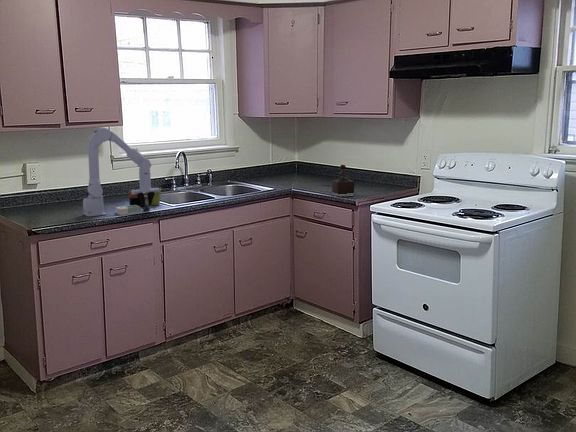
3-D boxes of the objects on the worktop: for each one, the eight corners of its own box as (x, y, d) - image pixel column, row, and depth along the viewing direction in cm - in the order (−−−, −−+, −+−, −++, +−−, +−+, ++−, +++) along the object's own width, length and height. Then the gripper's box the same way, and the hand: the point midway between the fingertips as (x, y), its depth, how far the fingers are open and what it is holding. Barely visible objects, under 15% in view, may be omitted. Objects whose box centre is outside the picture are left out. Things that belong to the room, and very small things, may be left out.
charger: (120, 215, 295) (120, 208, 294) (115, 212, 301) (114, 206, 301) (142, 212, 301) (142, 206, 300) (136, 210, 308) (136, 204, 307)
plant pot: (149, 202, 330) (148, 187, 328) (165, 203, 328) (164, 188, 326) (142, 205, 321) (141, 190, 319) (158, 206, 319) (157, 190, 317)
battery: (129, 207, 316) (128, 189, 314) (142, 206, 319) (141, 188, 317) (131, 208, 312) (130, 190, 310) (144, 207, 316) (143, 189, 314)
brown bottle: (355, 196, 352) (356, 167, 348) (339, 197, 348) (339, 167, 344) (343, 192, 366) (344, 164, 362) (327, 193, 362) (328, 164, 358)
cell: (144, 211, 305) (144, 197, 304) (142, 210, 308) (141, 196, 307) (150, 210, 307) (149, 196, 306) (148, 209, 310) (147, 195, 308)
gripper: (134, 183, 297) (135, 209, 300) (161, 181, 305) (162, 206, 308) (129, 181, 303) (130, 207, 306) (155, 179, 311) (156, 204, 314)
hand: (146, 206), depth 307 cm, fingers closed on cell, 3 cm apart
